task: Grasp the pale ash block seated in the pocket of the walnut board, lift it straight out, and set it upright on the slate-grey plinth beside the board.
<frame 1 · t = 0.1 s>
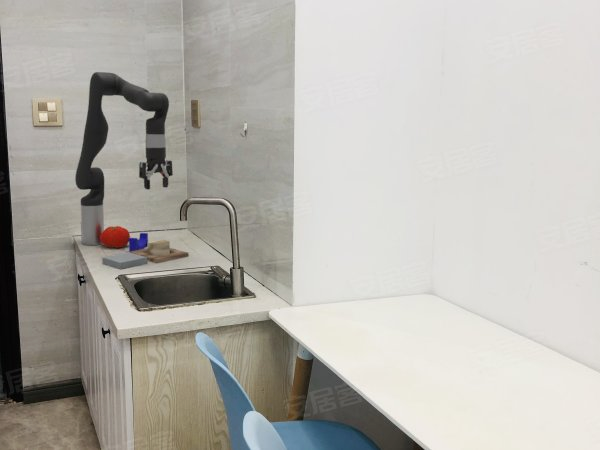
hand: (156, 188, 240), 29 cm above the worktop, fingers open, 8 cm apart
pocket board: (158, 255, 254), on the worktop
cable clip: (137, 249, 265), on the worktop
ash block: (158, 256, 254), resting in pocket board
tomato: (115, 247, 268), on the worktop
plinth: (124, 263, 241), on the worktop
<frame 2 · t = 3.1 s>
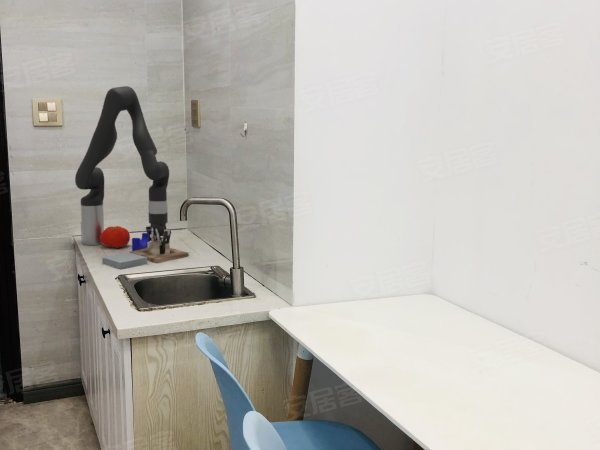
hand: (158, 252, 254), 1 cm above the worktop, fingers closed on ash block, 4 cm apart
cable clip: (139, 249, 265), on the worktop
ash block: (158, 255, 254), resting in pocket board, touching gripper
everything else where it was.
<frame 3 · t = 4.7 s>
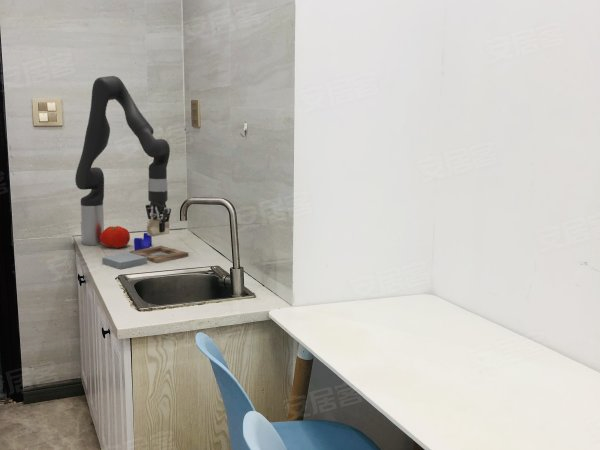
hand: (158, 231, 253), 10 cm above the worktop, fingers closed on ash block, 4 cm apart
ash block: (158, 234, 253), point 9 cm above the worktop, touching gripper
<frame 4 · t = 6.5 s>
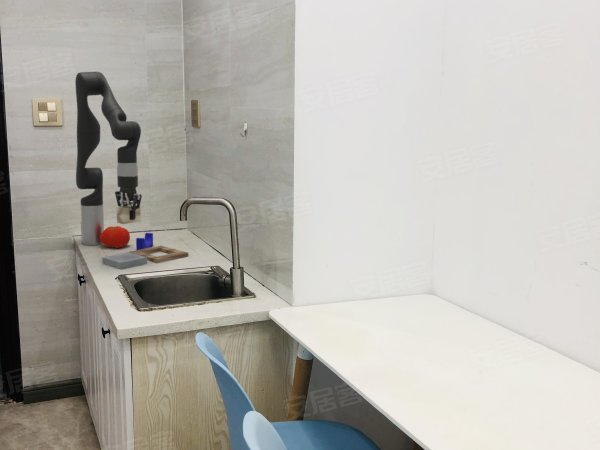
hand: (128, 218, 239), 17 cm above the worktop, fingers closed on ash block, 4 cm apart
ash block: (128, 222, 239), point 16 cm above the worktop, touching gripper
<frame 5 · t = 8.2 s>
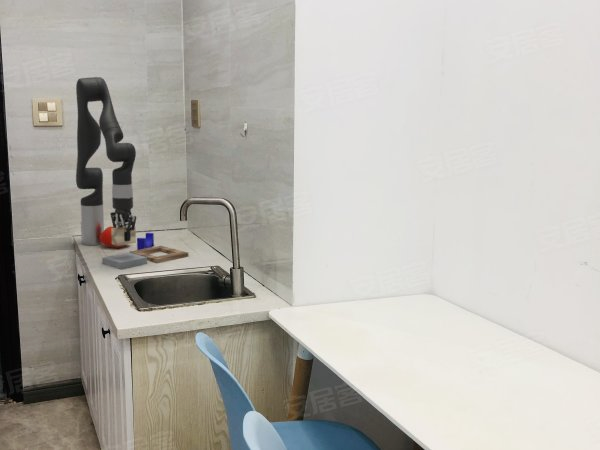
hand: (123, 240, 239), 9 cm above the worktop, fingers closed on ash block, 4 cm apart
ash block: (124, 243, 239), point 8 cm above the worktop, touching gripper
when the fingers open (5 cm above the worktop, at t = 9.8 s): ash block drops 1 cm, resting on plinth.
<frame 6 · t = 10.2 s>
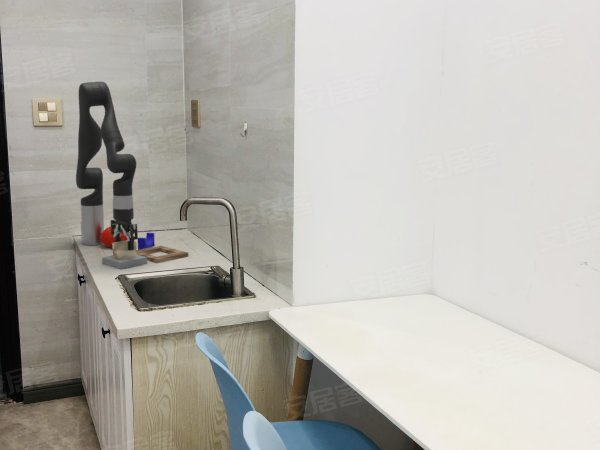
hand: (124, 248, 240), 6 cm above the worktop, fingers open, 8 cm apart
ash block: (124, 257, 240), point 2 cm above the worktop, touching plinth
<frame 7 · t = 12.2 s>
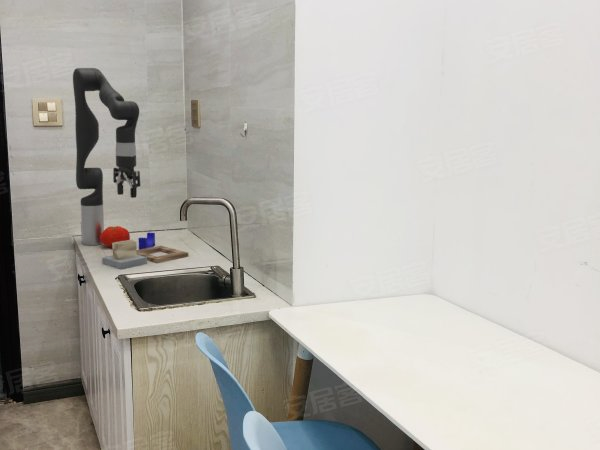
hand: (126, 196, 241), 26 cm above the worktop, fingers open, 8 cm apart
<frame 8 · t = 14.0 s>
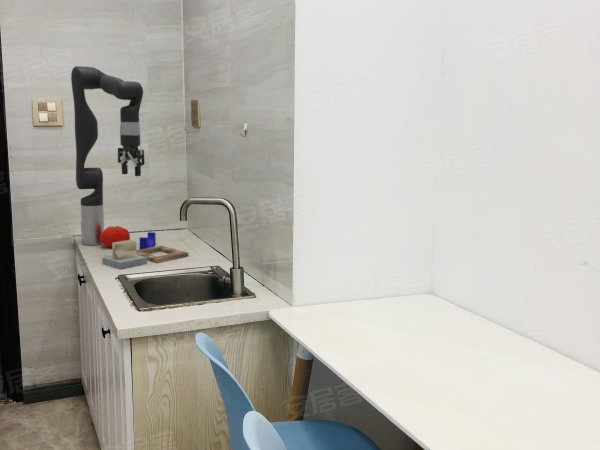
hand: (131, 175, 246), 33 cm above the worktop, fingers open, 8 cm apart
at the end: ash block inside the target area on the plinth (0.1 cm from its centre), point 2.5 cm above the plinth's base; ash block tilted 0°; the gripper is holding nothing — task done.
